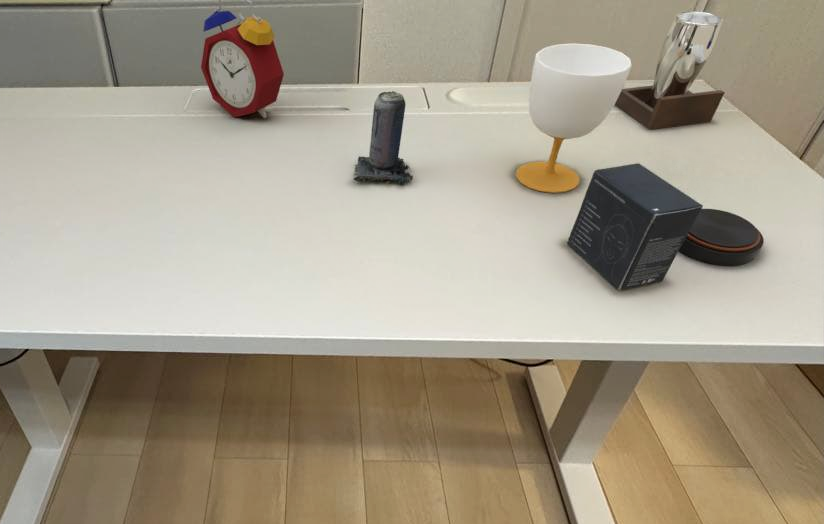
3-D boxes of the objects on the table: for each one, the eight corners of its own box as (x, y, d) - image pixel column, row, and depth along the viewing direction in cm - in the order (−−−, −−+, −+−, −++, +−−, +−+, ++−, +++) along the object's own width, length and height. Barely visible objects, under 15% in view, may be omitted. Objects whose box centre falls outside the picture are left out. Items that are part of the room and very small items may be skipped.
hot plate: (719, 216, 79) (728, 200, 77) (775, 259, 72) (786, 243, 70) (650, 226, 78) (658, 210, 77) (700, 271, 71) (710, 255, 69)
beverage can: (403, 160, 94) (411, 84, 85) (414, 184, 88) (423, 105, 80) (346, 164, 94) (349, 88, 85) (354, 189, 88) (358, 110, 80)
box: (665, 281, 70) (706, 205, 63) (617, 292, 69) (653, 216, 62) (608, 233, 77) (639, 160, 70) (564, 243, 76) (590, 169, 69)
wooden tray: (669, 96, 106) (681, 68, 103) (710, 122, 99) (725, 92, 95) (612, 103, 105) (622, 74, 102) (649, 129, 98) (662, 99, 94)
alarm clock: (205, 108, 112) (189, -11, 98) (236, 93, 116) (225, -23, 102) (263, 127, 105) (254, 2, 90) (294, 110, 109) (290, -12, 95)
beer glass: (688, 121, 99) (732, 24, 88) (644, 120, 100) (682, 24, 89) (675, 104, 104) (715, 10, 93) (633, 103, 105) (668, 10, 94)
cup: (513, 197, 85) (544, 76, 73) (501, 158, 93) (527, 43, 81) (598, 199, 83) (645, 75, 71) (578, 159, 92) (617, 42, 80)
